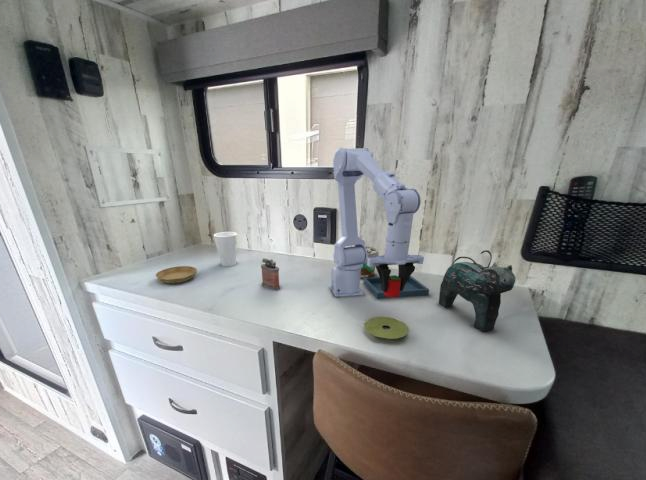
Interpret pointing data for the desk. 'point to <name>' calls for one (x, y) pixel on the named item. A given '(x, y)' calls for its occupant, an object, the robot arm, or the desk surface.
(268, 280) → the lighter
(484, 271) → the ceramic cat
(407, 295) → the tray
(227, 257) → the foam cup
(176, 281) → the plant saucer
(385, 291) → the robot arm
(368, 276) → the food container
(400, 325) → the green disc
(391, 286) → the strawberry
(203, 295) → the desk surface
